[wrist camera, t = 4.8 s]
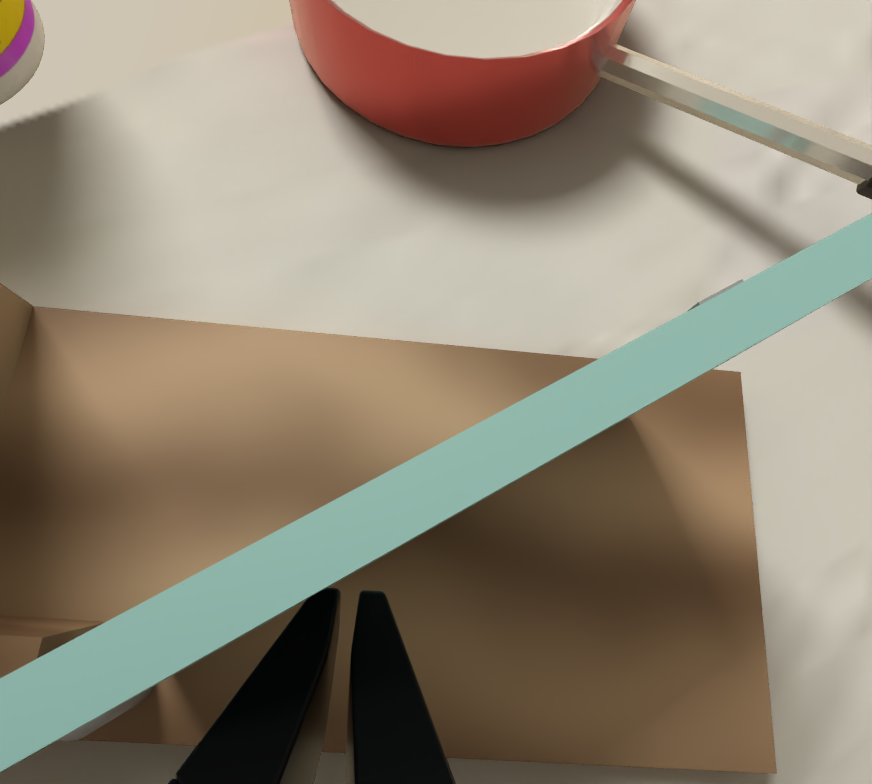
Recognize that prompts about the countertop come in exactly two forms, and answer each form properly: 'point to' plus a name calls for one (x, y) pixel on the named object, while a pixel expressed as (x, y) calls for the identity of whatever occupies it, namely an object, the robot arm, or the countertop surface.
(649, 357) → the door
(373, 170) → the countertop surface
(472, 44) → the frying pan
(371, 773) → the robot arm
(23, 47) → the supplement bottle
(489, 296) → the countertop surface
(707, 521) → the cabinet base
